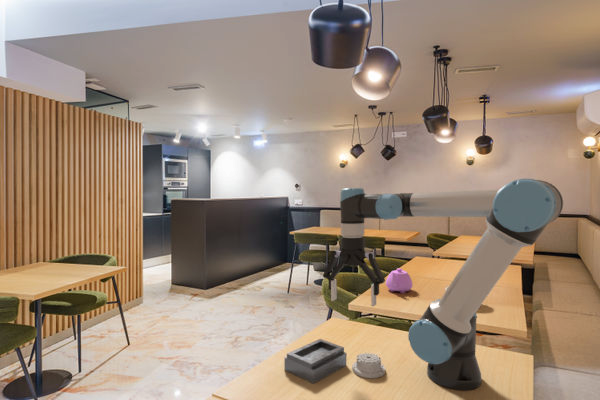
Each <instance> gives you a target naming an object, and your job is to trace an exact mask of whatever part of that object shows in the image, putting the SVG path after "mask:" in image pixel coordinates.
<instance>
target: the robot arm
mask: <svg viewBox="0 0 600 400" xmlns="http://www.w3.org/2000/svg"><path fill="white" fill-rule="evenodd" d="M339 203H340V204H339V205H340V235H341V236H342V237H340V250H338V249H334V250H332V251H331V257H330V259H329V261H328V264H327V266H326V268H325V270H324V273H323V274H322V277H323V278H324V279H327V280H328V290H329V291H330V298H331V299H330V300H331V301H332V302H333V301H336V300H337V296H338V293H337V283H338V282H337V279H335V278H336V276H338V274H339V273H340V272H341V271H342V269H343V268H344V267H345V266H354V267H359V268H360V269H362V271H363V272H364V273H365V275H366V276H367V277H368V279H369V280H370V281H371V282H372V284H371V285H370V296H371V297H370V302H371V304H370V306H371V307H375V306H376V305H377V296H378V295H379V294H380V285H381V284H384V283H386V279H385V276H384V274H383V272H382V271H381V268H380V266H379V263H378V262H377V260H376V255H375V254H376V253H375V252H373V251H372V252H366V250H365V237H364V236H365V219H373V220H374V219H376V220H381V219H382V220H386V221H387V220H396V219H398V218H399V217H405V218H410V217H411V218H412V217H413V218H414V217H423V218H424V217H426V218H427V217H435V218H436V217H437V218H438V217H440V218H443V217H445V218H446V217H449V218H455V217H456V218H485V223H486V226H487V228H486V229H485V231H484V232H483V234H482V235H481V237H480V238H479V240H478V242H477V243H476V245H475V246H474V247H473V249H472V251H471V252H470V254H469V256H468V257H467V258H466V260H465V262H464V263H463V265H462V266H461V268H460V269H459V271H458V272H457V273H456V275H455V276H454V278H453V280H452V281H451V283H450V284H449V287H448V286H447V287H448V289H447V290H445V292H444V293H443V295H442V297H440V298H438V299H436V300H433V301H431V302H430V303H429V305H428V307H427V308H426V310H425V311H424V313H423V314H422V316H421V317H420V318H419V319H418V320H415V321H414V322H412V324H411V326H410V327H409V329H408V334H407V335H408V336H407V337H408V338H407V339H408V341H409V345H410V347H411V349H412V351H413V352H414V354H415V355H416V356H417V357H418V358H419V359H420V360H422V361H423V362H425V363H427V366H426V368H427V369H426V370H427V371H426V374H427V376H428V378H429V379H430V380H431V381H432V382H434V383H436V384H437V385H439V386H443V387H445V388H448V389H453V390H458V391H470V390H475V389H477V388H479V387H480V386H481V385H482V371H481V370H480V366H479V362H478V360H477V357H476V348H477V345H476V342H477V338H476V337H477V336H476V335H477V318H478V316H477V311H478V310H479V309H480V307H481V305H482V304H483V303H484V301H485V300H486V299H487V297H488V295H489V294H490V293H491V291H492V290H493V288H494V287H495V286H496V285H497V283H498V281H499V280H500V279H501V277H502V276H503V274H504V273H505V272H506V270H507V269H508V268H509V266H510V265H511V263H512V262H513V261H514V259H515V258H516V256H517V255H518V254H519V252H520V251H521V249H523V248H524V247H532V246H533V245H534V244H535V243H536V242H537V240H538V238H539V237H540V235H541V234H542V233H543V231H545V229H546V228H547V226H548V225H550V224H551V223H553V222H554V221H555V220H556V219H558V218H559V216H560V215H561V213H562V211H563V209H564V200H563V196H562V194H561V192H560V190H559V189H558V188H557V187H556V186H555V185H553V184H552V183H550V182H548V181H544V180H542V179H540V180H539V179H533V178H520V179H515V180H512V181H511V182H508V183H507V184H505V185H503V186H502V187H501V188H499V189H481V190H461V191H460V190H459V191H435V192H434V191H433V192H431V191H429V192H428V191H427V192H414V193H413V192H410V193H408V192H404V193H403V192H402V193H376V194H374V193H373V194H367V193H365V190H364V188H363V187H362V188H361V187H349V188H348V187H347V188H342V189H341V190H340V200H339ZM339 257H341V260H340V262H339V264H337V266H336V267H335V268H334V266H335V263H336V262H337V259H338V258H339ZM365 258H367V260H368V262H369V264H370V266H371V268H372V270H371V268H370V267H369V266H368V264H367V262H366V260H365ZM333 268H334V270H333ZM332 270H333V271H332Z"/></svg>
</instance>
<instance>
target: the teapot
mask: <svg viewBox="0 0 600 400" xmlns="http://www.w3.org/2000/svg"><path fill="white" fill-rule="evenodd" d="M385 285H386V287H387V288H388V289H389V292H392V293H394V292H395V291H396V292H400V294H405V293H406V292H409V291H410V290H411V289H412V288H413V281H412V278H411V276H410V274H409V273H408V272H407V271H405V270H404V269H403V268H401V267H400V268H398V267H397V268H396V270H395V269H394V270H392V271H391V272H390V273H389V274H388V276H387V277H386V279H385Z"/></svg>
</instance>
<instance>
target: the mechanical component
mask: <svg viewBox="0 0 600 400" xmlns="http://www.w3.org/2000/svg"><path fill="white" fill-rule="evenodd" d="M351 366H352V372H353V373H354V374H355V375H357V376H358V377H361V378H365V379H377V378H381V377H383V376H384V375H385V373H386V367H385V365H383V363H382V359H381V357H380V356H378V354H375V353H372V352H370V353H367V352H364V353H359V354H357V355H356V361H355V362H354V361H353V363H352V365H351Z"/></svg>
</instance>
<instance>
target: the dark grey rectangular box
mask: <svg viewBox="0 0 600 400" xmlns="http://www.w3.org/2000/svg"><path fill="white" fill-rule="evenodd" d="M346 366H347V352H345V347H344V346H341V345H338V344H335V343H333V342H330V341H327V340H326V339H325V340H324V339H322V338H319V339H317V340H314V341H312V342H310V343H308V344H305V345H303V346H301V347H299V348H296V349H294V350H292V351H290V352H287V353H286V356H284V366H283V367H284V371H285V372H288V373H290V374H292V375H294V376H296V377H298V378H300V379H303V380H305V381H307V382H309V383H311V384H314V385H315V384H316V383H318V382H319V381H321V380H323V379H325V378H327V377H328V376H330V375H332V374H334V373H335V372H337V371H339V370H341V369H342V368H344V367H346Z"/></svg>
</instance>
